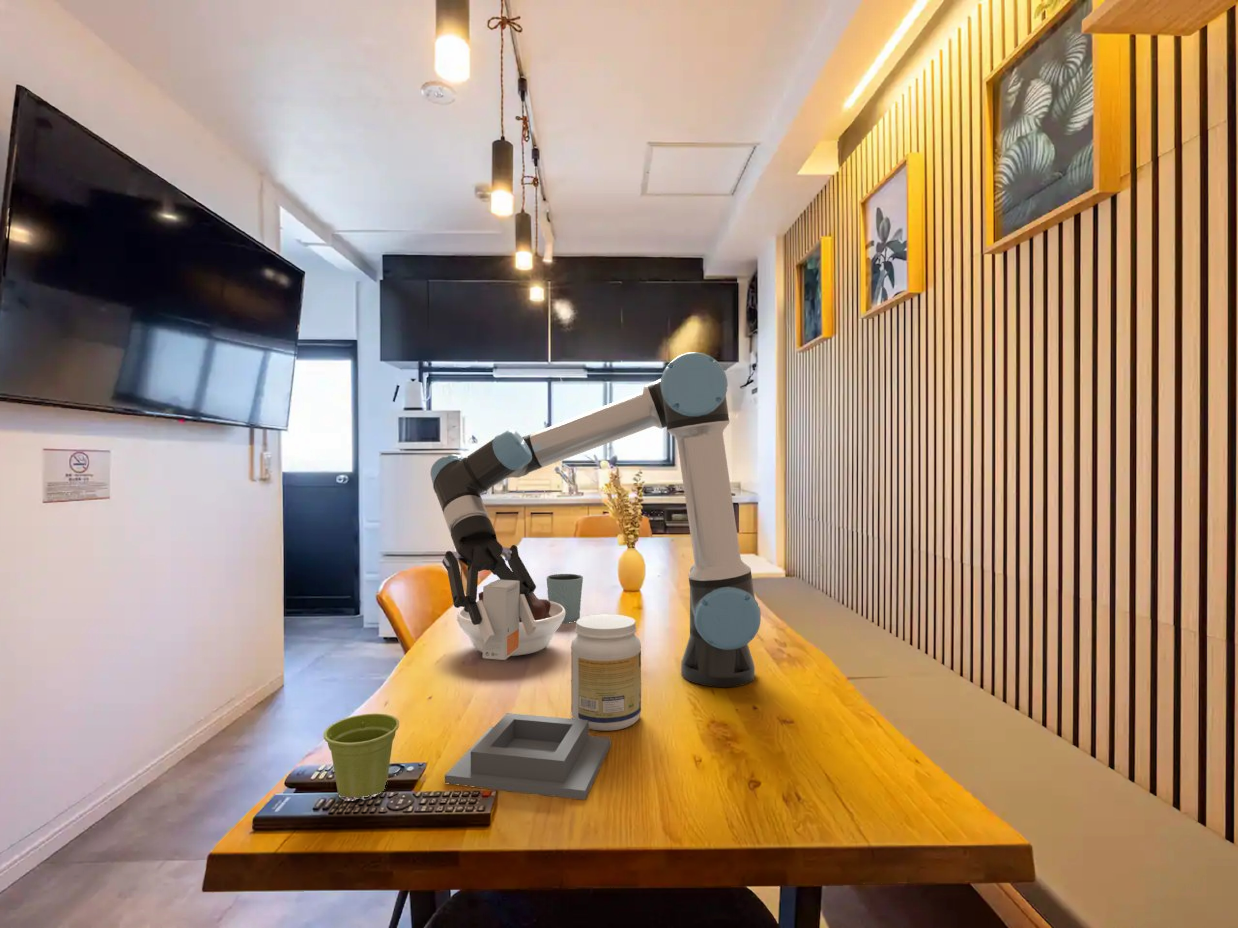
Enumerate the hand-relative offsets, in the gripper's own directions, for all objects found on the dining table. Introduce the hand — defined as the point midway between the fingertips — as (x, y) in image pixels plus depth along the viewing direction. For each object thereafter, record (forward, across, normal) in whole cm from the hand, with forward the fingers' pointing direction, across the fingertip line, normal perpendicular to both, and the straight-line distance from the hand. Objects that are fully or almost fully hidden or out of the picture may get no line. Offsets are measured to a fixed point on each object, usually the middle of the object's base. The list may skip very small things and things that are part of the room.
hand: (511, 635), depth 102 cm
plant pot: (+14, +24, -9) cm, 30 cm away
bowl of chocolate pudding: (-16, -21, -40) cm, 48 cm away
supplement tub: (+15, -16, -8) cm, 23 cm away
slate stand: (+19, +2, -4) cm, 20 cm away
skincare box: (0, 0, -6) cm, 6 cm away
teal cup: (-28, -46, -52) cm, 75 cm away
